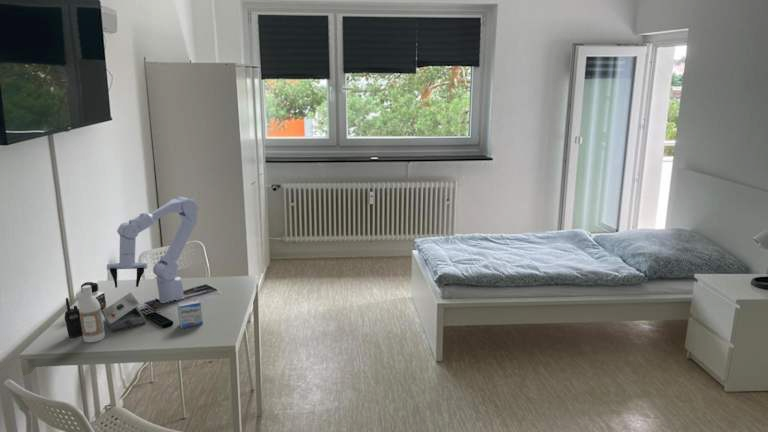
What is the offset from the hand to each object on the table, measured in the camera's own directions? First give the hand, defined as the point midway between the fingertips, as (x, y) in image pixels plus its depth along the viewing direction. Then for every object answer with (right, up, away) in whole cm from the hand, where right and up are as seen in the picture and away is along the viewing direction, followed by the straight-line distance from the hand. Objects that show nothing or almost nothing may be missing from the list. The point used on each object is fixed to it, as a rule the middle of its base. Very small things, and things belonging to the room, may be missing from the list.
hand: (126, 286), depth 235 cm
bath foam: (-2, -16, -23) cm, 28 cm away
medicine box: (+30, -13, -12) cm, 35 cm away
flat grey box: (+3, -13, -9) cm, 16 cm away
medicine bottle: (-15, -10, +3) cm, 18 cm away
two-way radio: (-10, -16, -19) cm, 27 cm away
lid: (+2, -7, -11) cm, 13 cm away
